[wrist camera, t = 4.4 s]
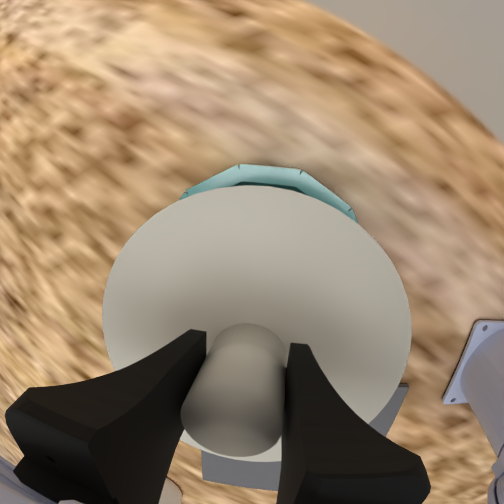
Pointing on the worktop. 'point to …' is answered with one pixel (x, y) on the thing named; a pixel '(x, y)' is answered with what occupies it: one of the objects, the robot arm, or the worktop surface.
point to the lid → (259, 309)
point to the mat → (269, 472)
